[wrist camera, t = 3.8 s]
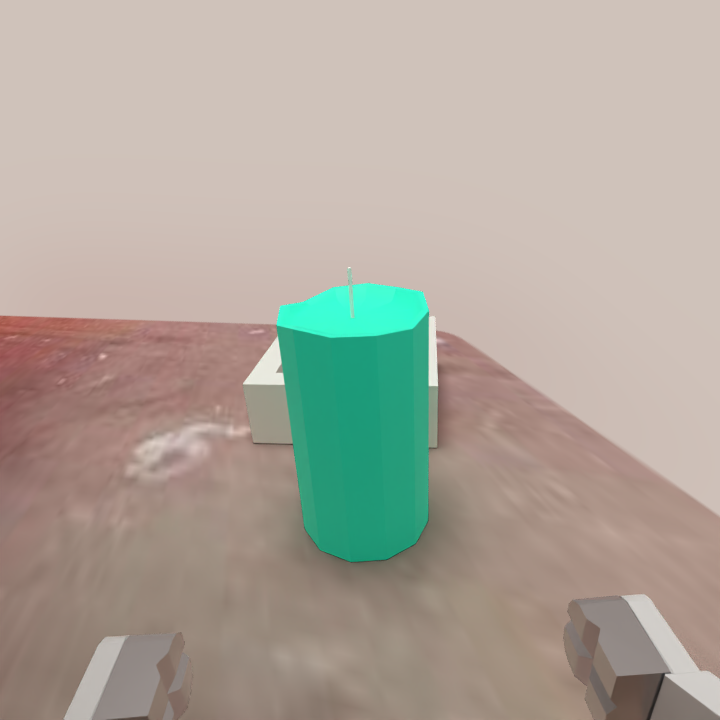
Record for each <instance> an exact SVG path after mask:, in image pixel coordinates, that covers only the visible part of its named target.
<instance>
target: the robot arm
mask: <svg viewBox="0 0 720 720" xmlns="http://www.w3.org/2000/svg"><path fill="white" fill-rule="evenodd" d="M567 612H568V614H569V616H570V618H571V621H570V622H569V623H568V624H567V625H566V626H565V628H564V636H563V639H564V646H565V652H566V656H567V659H568V662H569V665H570V667H571V669H572V672H573V674H574V676H575V677H576V678H577V679H578V680H580V681H581V682H582V683H583V684H584V685H586V686H587V690H586V695H585V701H586V703H587V705H588V708H589V710H590V712H591V714H592V717H593V719H594V720H720V679H719V678H718V677H716V676H715V675H713V674H712V673H710V672H709V671H700V670H699V668H698V667H697V666H696V664H695V663H694V661H693V660H692V658H691V657H690V655H689V654H688V653H687V651H686V650H685V648H684V647H683V645H682V644H681V643H680V641H679V640H678V638H677V637H676V635H675V634H674V632H673V631H672V630H671V628H670V627H669V625H668V624H667V622H666V621H665V619H664V618H663V617H662V615H661V614H660V612H659V611H658V609H657V608H656V606H655V605H654V604H653V602H652V601H651V599H650V598H649V597H647V596H646V595H645V594H636V595H626V596H607V597H596V598H586V599H576V600H572V601H571V602H570V603H569V606H568V611H567ZM184 645H185V641H184V639H183V636H182V633H181V632H178V633H162V634H145V635H126V636H113V637H105V638H104V639H103V640H102V641H101V643H100V644H99V645H98V646H97V648H96V650H95V652H94V655H93V657H92V659H91V661H90V663H89V665H88V667H87V669H86V672H85V674H84V676H83V678H82V680H81V682H80V684H79V687H78V689H77V691H76V693H75V695H74V697H73V699H72V702H71V704H70V706H69V708H68V710H67V712H66V714H65V716H64V719H63V720H178V719H179V718H180V716H181V715H182V714H183V713H184V712H185V711H186V709H187V708H188V703H189V699H190V695H191V688H192V678H193V674H192V664H191V661H190V657H189V656H187V655H186V654H184V653H183V648H184Z"/></svg>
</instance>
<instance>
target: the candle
mask: <svg viewBox="0 0 720 720" xmlns="http://www.w3.org/2000/svg"><path fill="white" fill-rule="evenodd" d="M348 282H349V286H340V287H333V288H331V289H329V290H327V291H325V292H323V293H321V294H319V295H316V296H314V297H312V298H310V299H308V300H306V301H304V302H300V303H294V304H288V305H282V306H280V310H279V315H278V320H277V325H276V326H277V333H278V340H279V347H280V355H281V362H282V369H283V376H284V384H285V391H286V398H287V405H288V412H289V420H290V427H291V434H292V441H293V448H294V456H295V463H296V470H297V477H298V484H299V492H300V499H301V506H302V513H303V520H304V528H305V530H306V531H307V533H308V534H309V536H310V537H311V538H312V540H313V541H314V542H315V544H316V545H317V547H318V548H319V549H320V550H321V551H324V552H326V553H329V554H331V555H334V556H336V557H339V558H342V559H344V560H347V561H349V562H359V561H374V560H387V559H389V558H391V557H392V556H394V555H396V554H398V553H400V552H401V551H403V550H405V549H407V548H409V547H411V546H412V545H414V544H416V542H417V540H418V539H419V537H420V535H421V533H422V531H423V529H424V528H425V526H426V524H427V522H428V463H429V309H428V306H427V303H426V300H425V297H424V294H423V292H421V291H416V290H410V289H404V288H400V287H392V286H384V285H377V284H370V283H366V284H358V285H352V274H351V267H348Z"/></svg>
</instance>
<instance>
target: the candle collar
mask: <svg viewBox="0 0 720 720" xmlns="http://www.w3.org/2000/svg"><path fill="white" fill-rule="evenodd" d="M243 389H244V394H245V400H246V406H247V411H248V417H249V422H250V428H251V434H252V439H253V443H277V444H293V441H292V434H291V427H290V420H289V412H288V405H287V398H286V391H285V384H284V376H283V369H282V362H281V355H280V347H279V340H278V337H277V338H276V339H275V341H274V342H273V344H272V345H271V346H270V348H269V349H268V350H267V352H266V353H265V355H264V356H263V357H262V359H261V360H260V361H259V363H258V364H257V365H256V367H255V368H254V370H253V371H252V372H251V374H250V375H249V376H248V378H247V379H246V381H245V382H244V383H243ZM437 429H438V373H437V349H436V326H435V316H429V447H430V448H437Z"/></svg>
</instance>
